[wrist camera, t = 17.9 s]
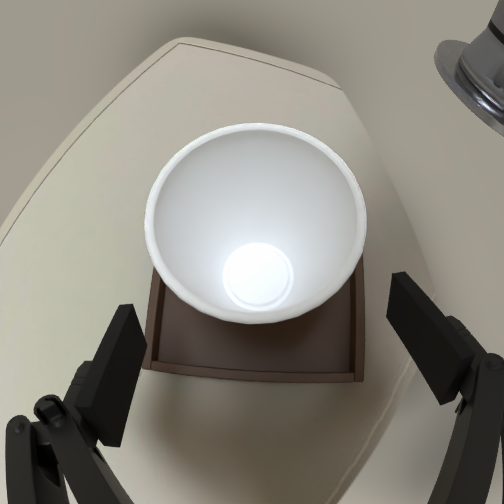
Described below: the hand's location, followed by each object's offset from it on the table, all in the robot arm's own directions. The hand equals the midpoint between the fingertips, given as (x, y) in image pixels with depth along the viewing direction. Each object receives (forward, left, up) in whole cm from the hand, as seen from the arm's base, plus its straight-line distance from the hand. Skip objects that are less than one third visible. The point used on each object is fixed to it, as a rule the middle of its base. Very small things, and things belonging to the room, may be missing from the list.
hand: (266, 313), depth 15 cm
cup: (+1, -4, -8) cm, 9 cm away
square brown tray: (+1, -4, -8) cm, 9 cm away
